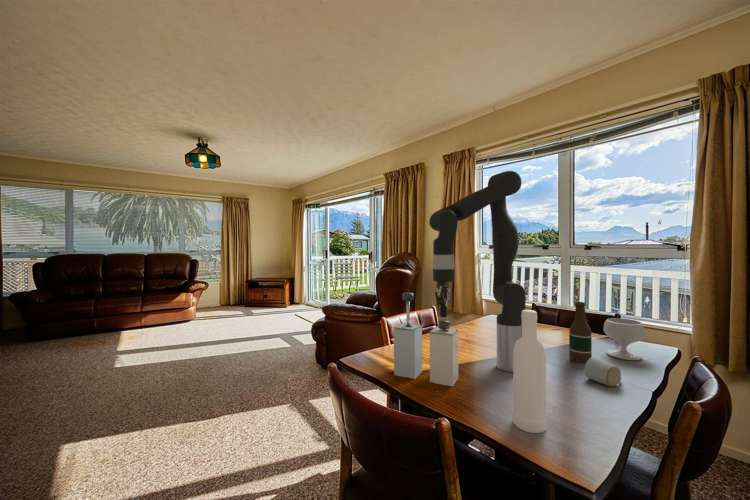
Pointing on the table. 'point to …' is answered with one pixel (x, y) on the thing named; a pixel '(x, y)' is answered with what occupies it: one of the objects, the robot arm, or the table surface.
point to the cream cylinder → (602, 372)
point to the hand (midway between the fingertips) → (443, 316)
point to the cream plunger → (444, 324)
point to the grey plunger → (408, 305)
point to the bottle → (529, 377)
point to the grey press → (408, 350)
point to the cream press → (444, 356)
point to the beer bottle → (580, 337)
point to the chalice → (624, 336)
